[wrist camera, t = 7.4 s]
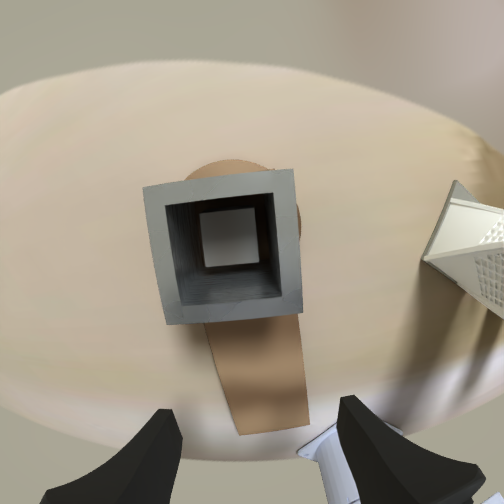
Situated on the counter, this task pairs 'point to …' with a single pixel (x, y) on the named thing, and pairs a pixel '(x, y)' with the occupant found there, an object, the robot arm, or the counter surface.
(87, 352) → the counter surface
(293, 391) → the walnut base
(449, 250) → the skyscraper
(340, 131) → the counter surface
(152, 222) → the steel collar
